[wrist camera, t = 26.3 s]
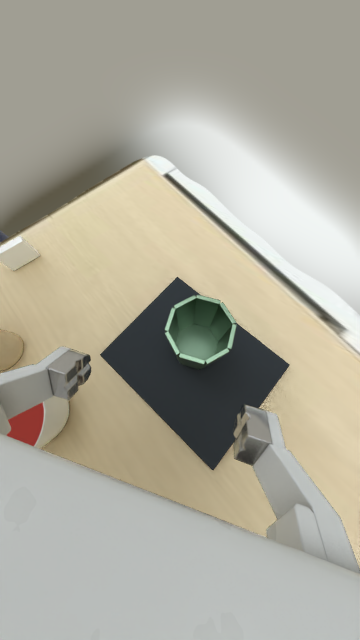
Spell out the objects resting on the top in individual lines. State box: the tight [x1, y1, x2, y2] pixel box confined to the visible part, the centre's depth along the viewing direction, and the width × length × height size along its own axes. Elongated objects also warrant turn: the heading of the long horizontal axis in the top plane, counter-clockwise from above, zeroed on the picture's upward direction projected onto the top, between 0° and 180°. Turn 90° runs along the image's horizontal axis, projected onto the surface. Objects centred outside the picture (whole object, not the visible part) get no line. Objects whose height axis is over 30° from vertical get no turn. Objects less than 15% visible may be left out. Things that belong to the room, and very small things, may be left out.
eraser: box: [0, 236, 40, 271], centre depth 31 cm, size 1×5×4 cm, turn 127°
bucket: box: [165, 295, 237, 370], centre depth 22 cm, size 10×6×6 cm
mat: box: [100, 277, 289, 470], centre depth 26 cm, size 20×16×1 cm
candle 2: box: [6, 396, 69, 449], centre depth 22 cm, size 9×9×6 cm
